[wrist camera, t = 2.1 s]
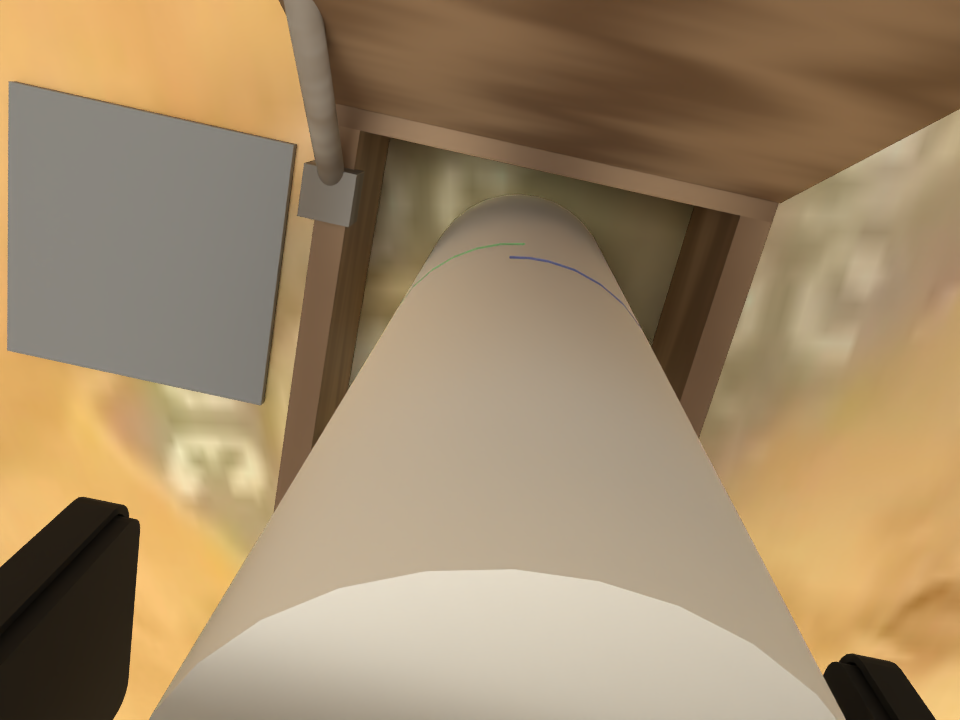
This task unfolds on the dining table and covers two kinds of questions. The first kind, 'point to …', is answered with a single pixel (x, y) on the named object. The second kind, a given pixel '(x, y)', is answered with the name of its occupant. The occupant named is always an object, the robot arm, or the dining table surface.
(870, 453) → the dining table surface
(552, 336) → the cylindrical container
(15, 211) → the mat
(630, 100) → the case
